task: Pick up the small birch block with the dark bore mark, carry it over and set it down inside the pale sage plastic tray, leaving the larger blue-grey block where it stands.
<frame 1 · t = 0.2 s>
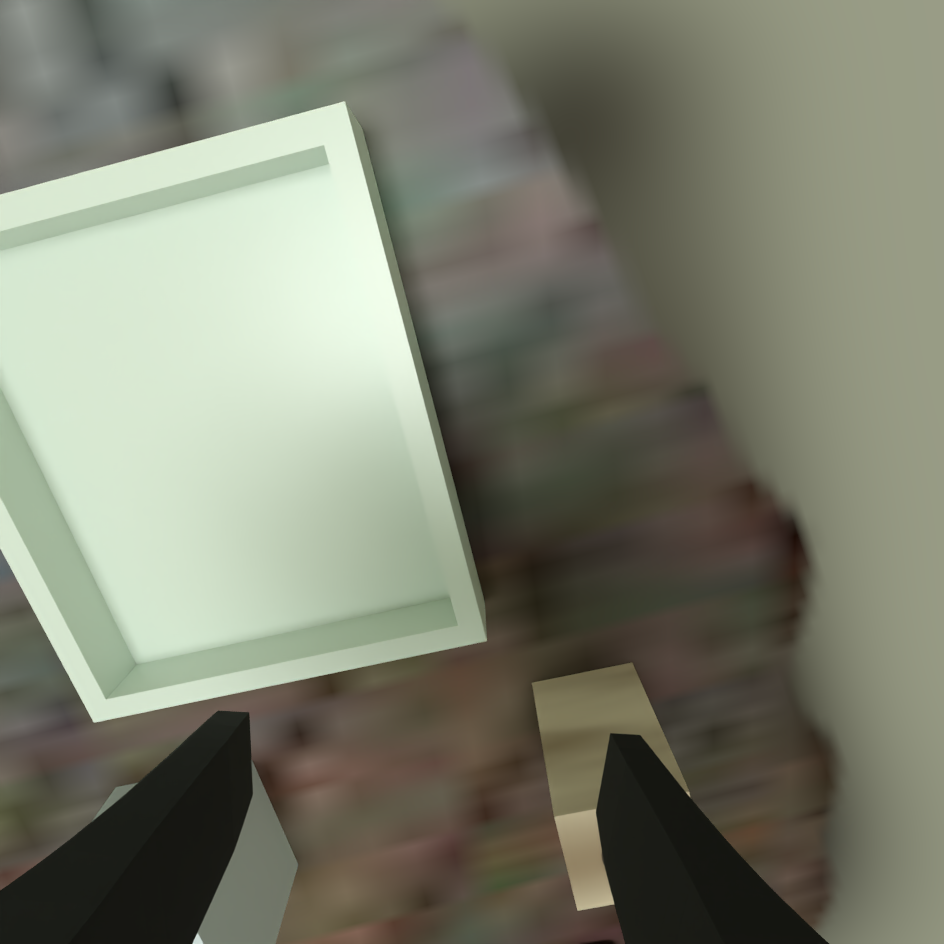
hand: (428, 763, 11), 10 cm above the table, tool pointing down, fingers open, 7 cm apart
tray: (231, 442, 19), on the table
large block: (210, 825, 25), on the table
small block: (590, 713, 23), on the table
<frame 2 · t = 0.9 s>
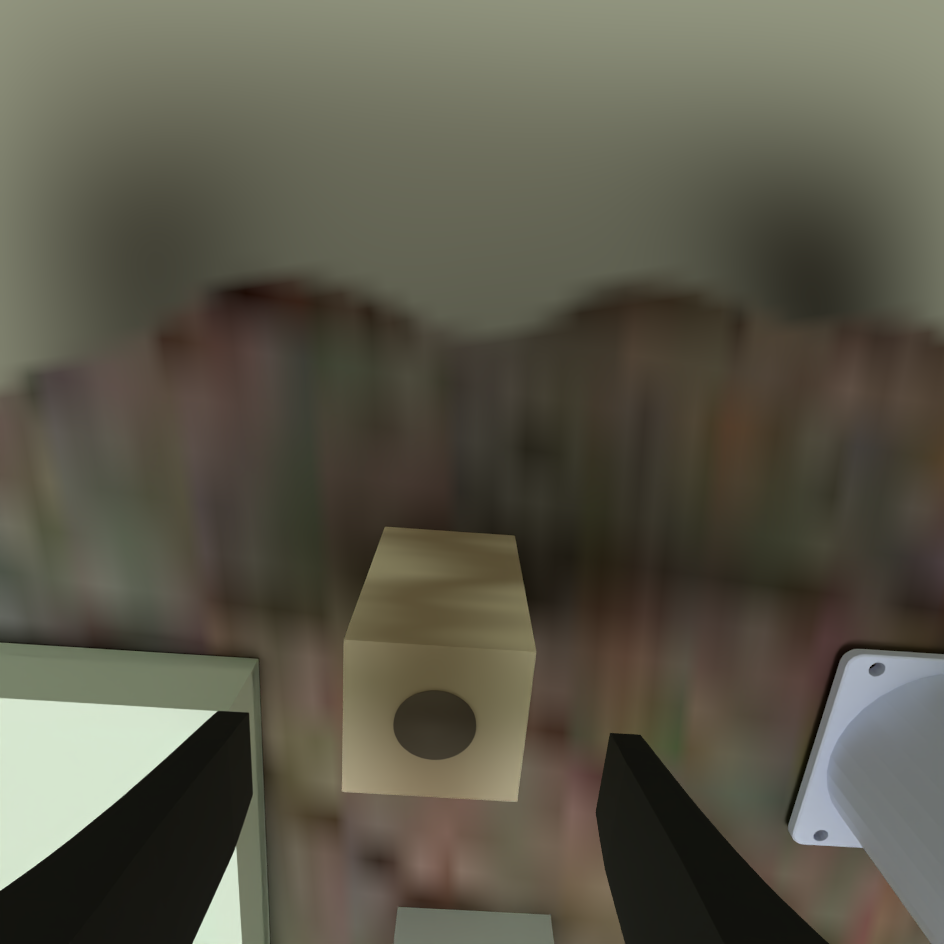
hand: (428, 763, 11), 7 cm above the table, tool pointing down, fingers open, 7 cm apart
tray: (43, 809, 21), on the table
small block: (445, 588, 18), on the table
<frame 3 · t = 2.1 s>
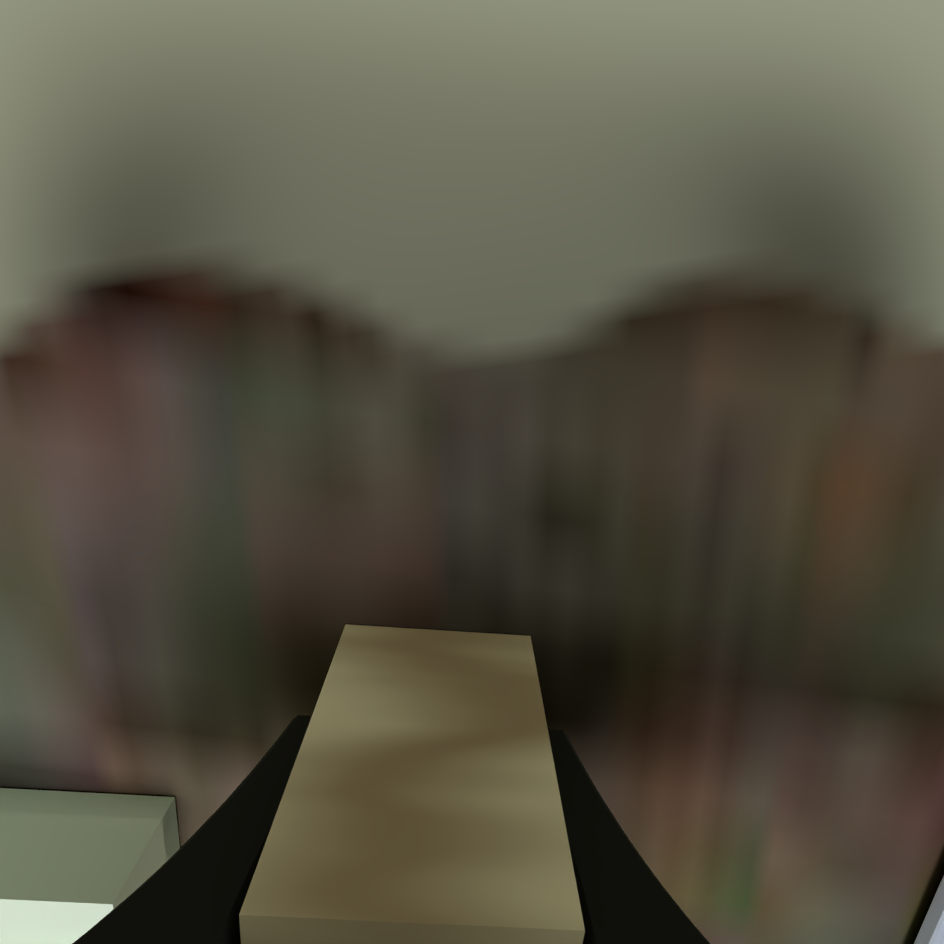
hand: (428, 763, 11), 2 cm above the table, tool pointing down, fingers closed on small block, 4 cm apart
small block: (433, 706, 13), on the table, touching gripper
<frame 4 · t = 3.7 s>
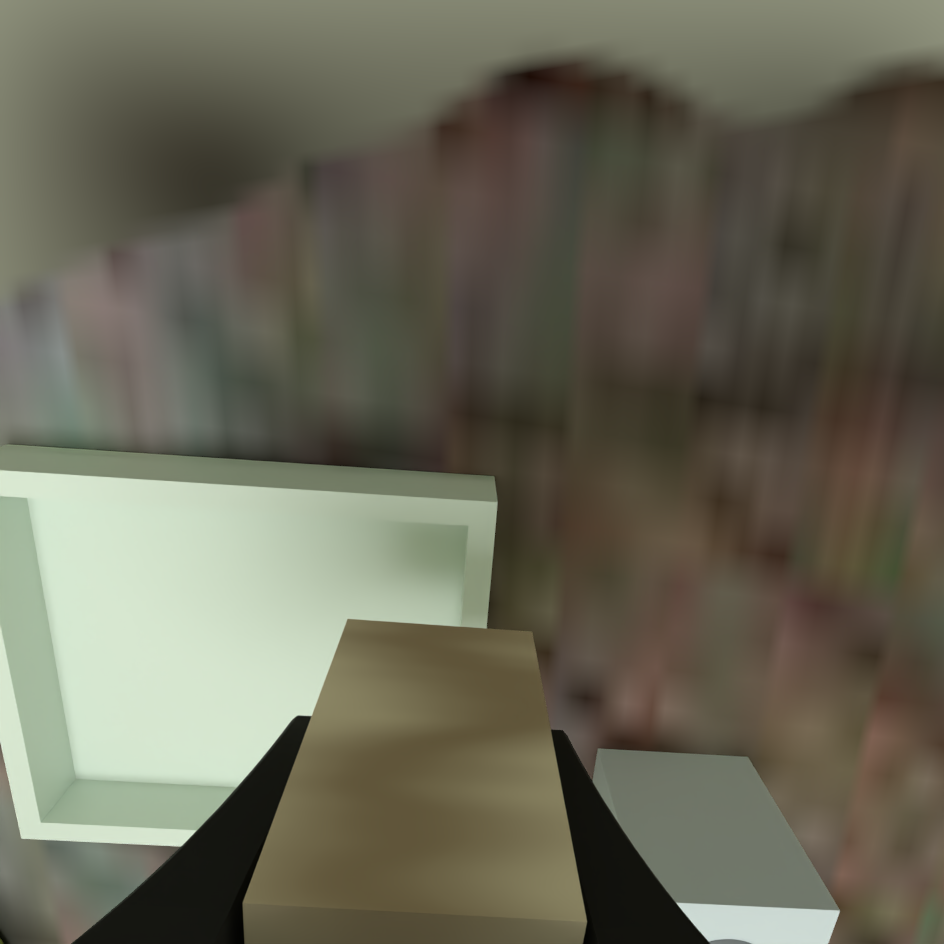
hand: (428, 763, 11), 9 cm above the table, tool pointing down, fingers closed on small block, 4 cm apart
tray: (261, 642, 21), on the table
large block: (659, 809, 24), on the table
small block: (434, 702, 13), point 7 cm above the table, touching gripper
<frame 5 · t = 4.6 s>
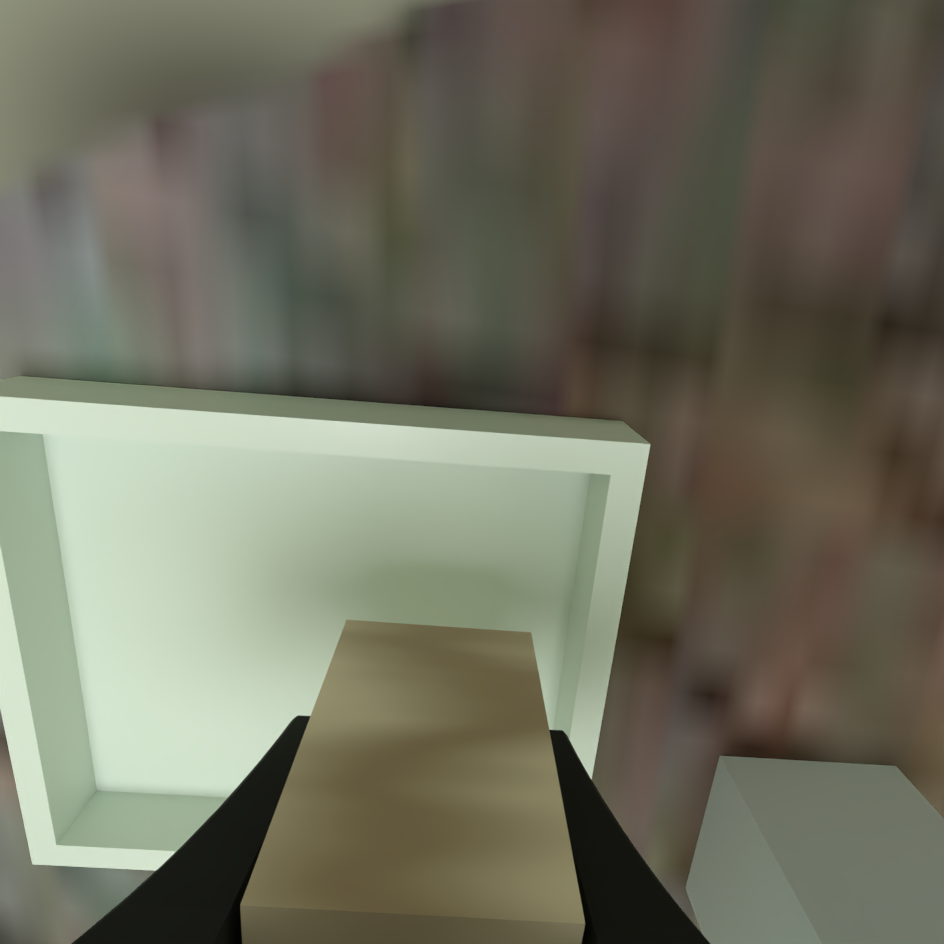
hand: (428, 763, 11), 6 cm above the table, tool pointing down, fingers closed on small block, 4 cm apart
tray: (325, 626, 17), on the table
large block: (785, 827, 20), on the table
small block: (433, 702, 13), point 4 cm above the table, touching gripper
when the fingers open (4 cm above the table, at t = 5.4 s): small block drops 1 cm, resting on tray.
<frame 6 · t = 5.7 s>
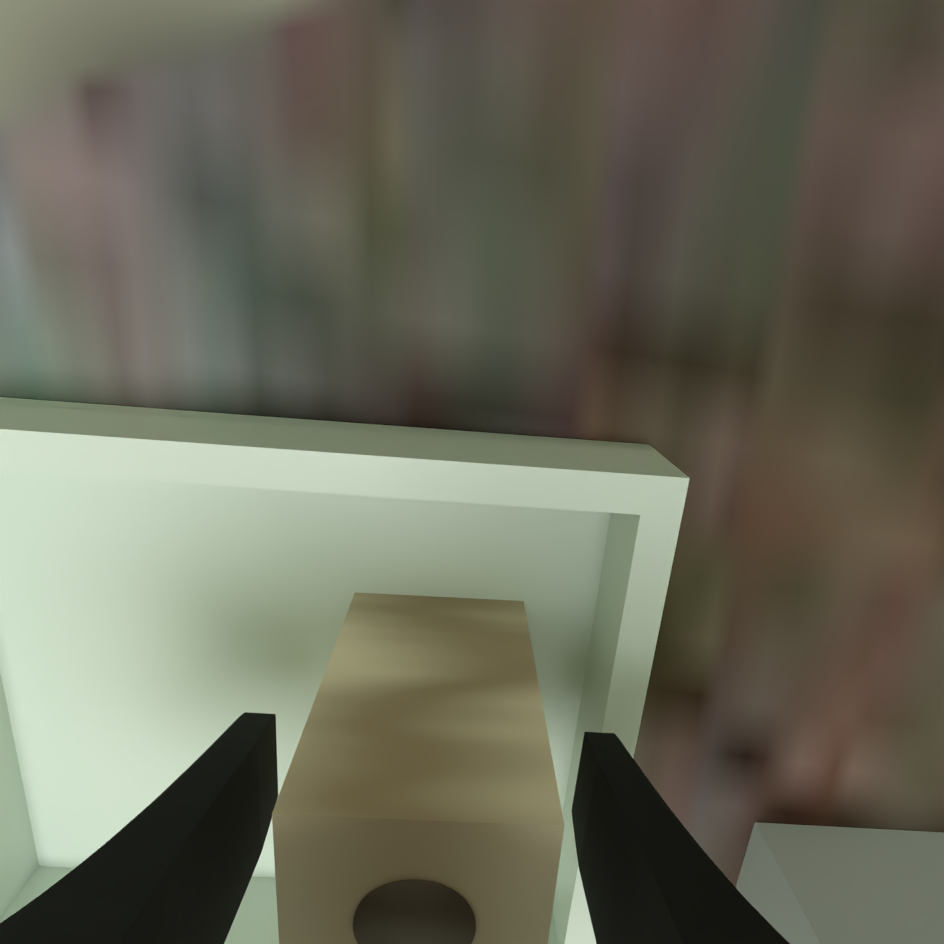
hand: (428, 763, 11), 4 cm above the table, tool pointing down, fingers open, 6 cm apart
tray: (301, 680, 15), on the table
large block: (826, 899, 18), on the table
small block: (435, 668, 14), point 1 cm above the table, touching tray
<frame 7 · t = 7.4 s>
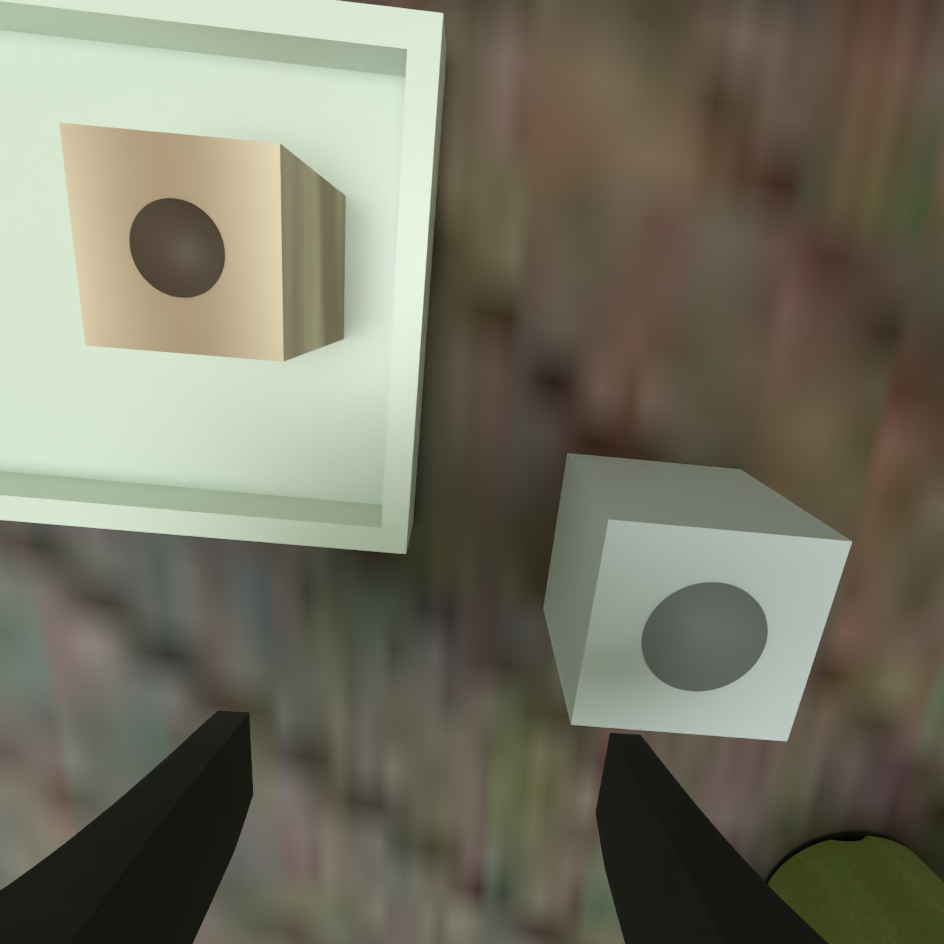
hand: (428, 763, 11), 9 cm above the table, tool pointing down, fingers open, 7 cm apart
tray: (168, 290, 18), on the table
large block: (637, 540, 20), on the table
small block: (276, 264, 17), point 1 cm above the table, touching tray
plant pot 2: (834, 887, 26), on the table
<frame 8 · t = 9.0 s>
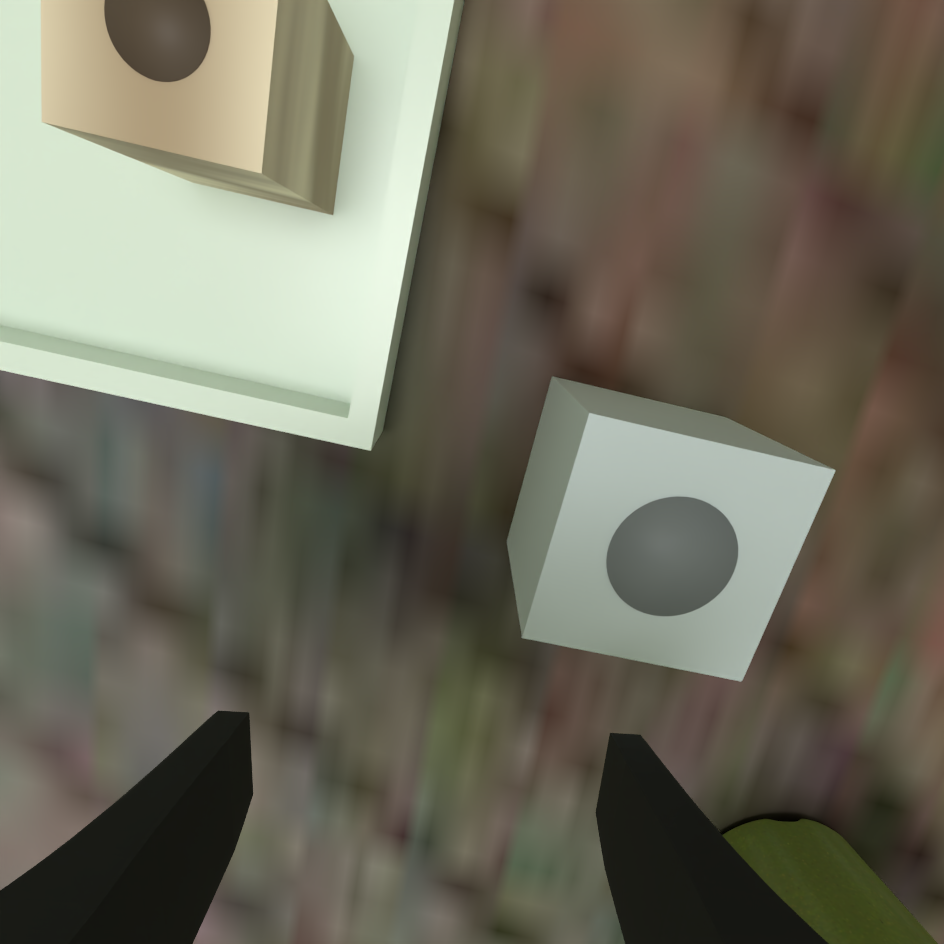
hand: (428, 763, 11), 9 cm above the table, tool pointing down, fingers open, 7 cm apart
tray: (151, 137, 16), on the table
large block: (612, 480, 20), on the table
small block: (271, 121, 16), point 1 cm above the table, touching tray
plant pot 2: (762, 870, 25), on the table
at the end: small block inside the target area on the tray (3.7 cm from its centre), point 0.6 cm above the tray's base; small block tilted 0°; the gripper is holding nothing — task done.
